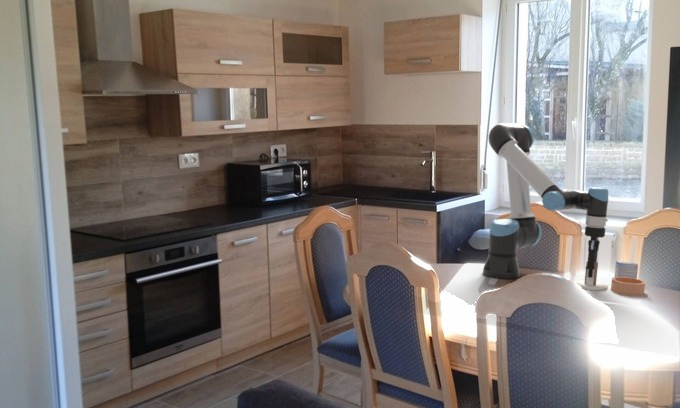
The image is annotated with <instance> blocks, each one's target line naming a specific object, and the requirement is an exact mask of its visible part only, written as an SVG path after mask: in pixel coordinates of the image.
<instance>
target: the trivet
mask: <svg viewBox="0 0 680 408" xmlns="http://www.w3.org/2000/svg"><path fill="white" fill-rule="evenodd" d="M606 285H607V289H606V290H593V291H594V292H600V293H601V292H603V293H606V292H607V290H608V288H609V287H610V286H609V284H606ZM585 290H587V289H585Z"/></svg>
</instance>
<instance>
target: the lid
mask: <svg viewBox="0 0 680 408" xmlns="http://www.w3.org/2000/svg"><path fill="white" fill-rule="evenodd" d="M587 264H588V260H587V261H586V263H585V273H584V280H581V279H580V280H575V282H576V283H577V284H578V285H580V286H581V287H582V288H583V289H582V290H586V289H587V290H588V291H594V290H606V289H607V290H608V288H607V285H608V284H606V283H603V282H599V281H597V277H598V267H599V262H598V261H597V262H595V266H594V268H595V271H594V282H593V286H592V285H586V278H587V269H586V267H587ZM607 290H606V291H607Z"/></svg>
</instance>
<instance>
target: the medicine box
mask: <svg viewBox="0 0 680 408" xmlns="http://www.w3.org/2000/svg"><path fill="white" fill-rule="evenodd" d="M638 271H639V264H638V263H637V262H636V261H622V260H621V261H620V260H619V261H617V260H616V261H615V268H614V277H629V278H635V279H638Z"/></svg>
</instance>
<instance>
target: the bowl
mask: <svg viewBox="0 0 680 408" xmlns="http://www.w3.org/2000/svg"><path fill="white" fill-rule="evenodd" d="M610 285H611V286H610V291H612V292H614V293H616V294H620V295H625V296H644V295H645V289H646V288H645V287H646V281H644V280H642V279H639V278H637V279H635V278H629V277H615V276H614V277H612V278H611V284H610Z"/></svg>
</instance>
